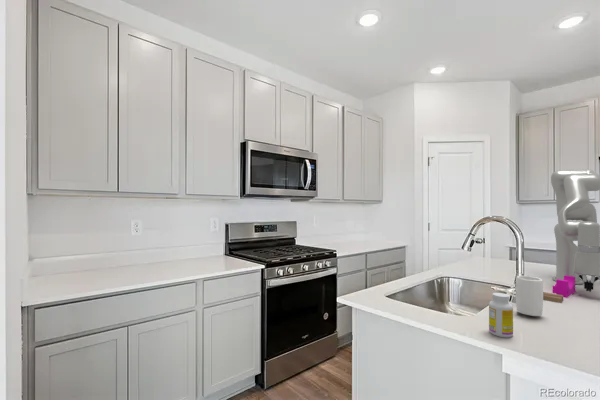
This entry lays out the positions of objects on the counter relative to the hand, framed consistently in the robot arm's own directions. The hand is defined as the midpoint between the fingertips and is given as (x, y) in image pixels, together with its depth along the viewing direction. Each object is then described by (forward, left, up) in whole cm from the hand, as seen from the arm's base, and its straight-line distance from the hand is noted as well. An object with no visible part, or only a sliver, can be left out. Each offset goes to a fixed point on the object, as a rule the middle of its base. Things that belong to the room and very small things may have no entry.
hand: (588, 290), depth 142 cm
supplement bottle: (+72, -17, -4) cm, 74 cm away
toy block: (-1, -9, -4) cm, 10 cm away
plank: (+14, -17, -3) cm, 22 cm away
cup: (+45, -14, -4) cm, 48 cm away
